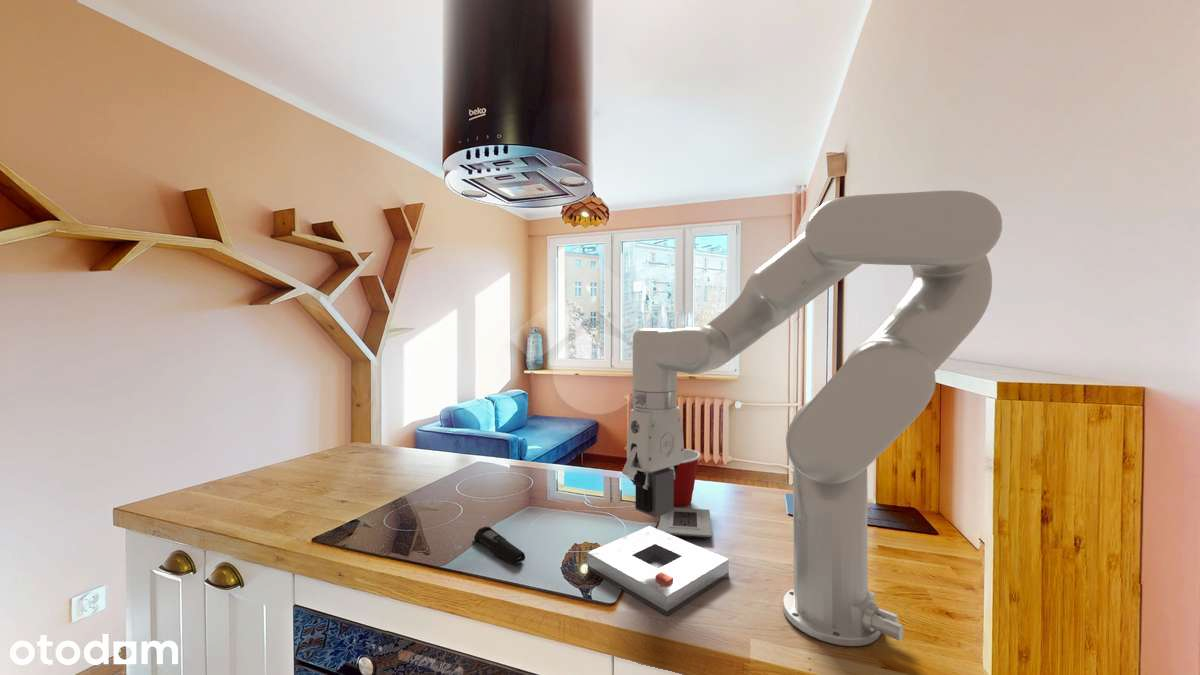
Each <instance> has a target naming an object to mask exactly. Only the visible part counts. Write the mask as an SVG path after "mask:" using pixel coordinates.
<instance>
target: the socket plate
mask: <svg viewBox="0 0 1200 675" xmlns="http://www.w3.org/2000/svg"><path fill="white" fill-rule="evenodd" d="M729 562H730V560H729V558H728V557H725V556H723V555H721V554H718V553H715V552H713V551H710V550H708V549H706V548H704V547H701V546H698V545H696V544H694V543H692V542H689V541H687V540H684V539H682V538H681V537H676V536H672V535H670V534H668V533H665V532H663V531H661V530H658V528H656V527H653V526H651V525H648V526H646V527H644V528H641V529H638V530H637V531H634V532H632V533H630V534H627V535H625V536H622V537H619V538H617V539H615V540H613V541H611V542H609V543H606V544H603V545H601V546H599V547H597V548H594V549H592V550H590V551H587V570H588V571H590V572H591V573H593V574H594V575H596V576H598V577H599V578H601V579H603V580H605V581H606V580H607V581H606V582H608V581H609V582H608V583H609V584H612V585H613V584H614V585H613V586H615V585H616V586H618V587H620V588H621V589H622V591H623V592H624V593H626V594H628V595H630V596H631V597H633V598H634V599H637V600H638V601H640V602H642V603H643V604H645V605H647V606H648V607H650V608H652V609H653V610H655V611H657V612H659V613H660V614H661V615H663V616H665V617H670V615H672V614H673V613H675V612H677V611H678V610H679V609H681V608H682V607H684V606H686V605H688V604H689V603H690V602H692V601H694V600H695V599H697V598H698V597H700V596H701V595H703V594H704V593H706V592H708V591H709V590H711V589H712V588H713V587H715V586H716V585H718V584H720V583H721V582H722V581H724V580H726V579H727V578H729V575H730V574H729V572H730V568H729V566H730V564H729ZM616 586H615V587H616ZM618 587H617V588H618ZM620 588H619V589H620ZM621 589H620V590H621Z"/></svg>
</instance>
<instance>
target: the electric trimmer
mask: <svg viewBox="0 0 1200 675" xmlns="http://www.w3.org/2000/svg"><path fill="white" fill-rule="evenodd" d="M473 539H474V542H475V543H482V544H483V545H485V546H486V548H487V547H488V548H489V549H490V550H491V551H492V552H493V555H494V556H495V557H497V558H500V560H501V559H502V560H504V561H506V562H508V563H509V564H510V563H511V564H513V565H516V564H518V563H521V562H524V561H525V559H526V555H525V552H524V551H522V550H520V549H519V548H518V547H516V546H515V545H514V544H512V543H511V542H510V541H508V540H507V539H506V538H505V537H504V536H502V535H501V534H500V533H498V532H496V531H495V530H494V529H492V528H491V527H490V526H483V527H480V528H478V530H477V531H476V533H475V534H474V536H473Z"/></svg>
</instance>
